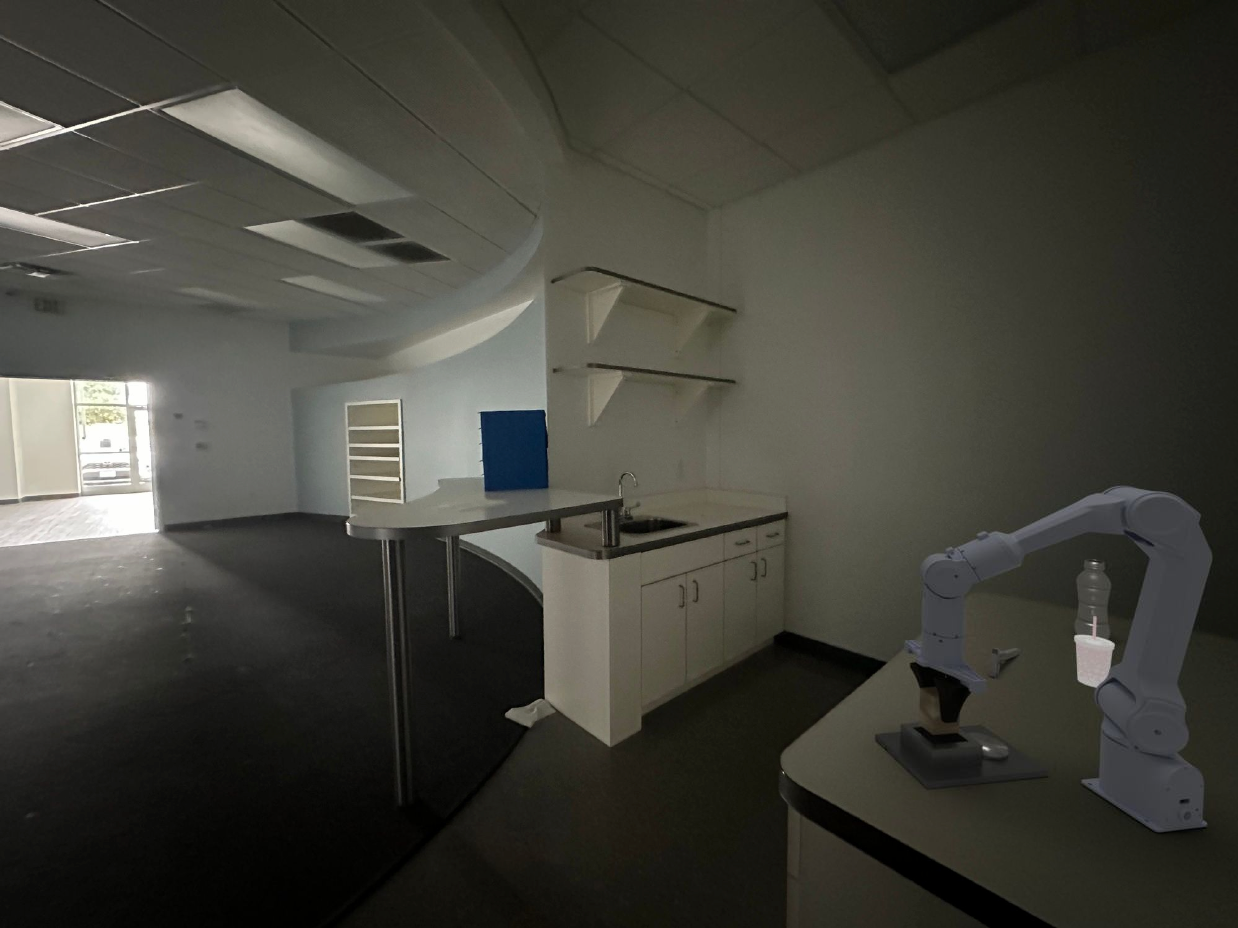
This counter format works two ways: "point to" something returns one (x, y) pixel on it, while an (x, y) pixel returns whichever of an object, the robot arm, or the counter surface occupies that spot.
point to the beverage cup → (1093, 657)
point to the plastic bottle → (1093, 600)
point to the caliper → (1000, 659)
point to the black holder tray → (958, 756)
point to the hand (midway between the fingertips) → (940, 714)
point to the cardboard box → (934, 713)
